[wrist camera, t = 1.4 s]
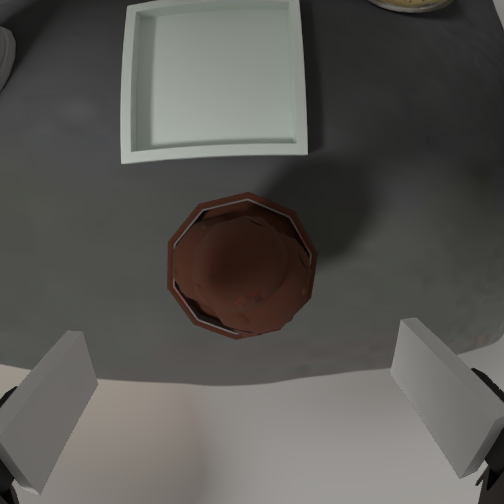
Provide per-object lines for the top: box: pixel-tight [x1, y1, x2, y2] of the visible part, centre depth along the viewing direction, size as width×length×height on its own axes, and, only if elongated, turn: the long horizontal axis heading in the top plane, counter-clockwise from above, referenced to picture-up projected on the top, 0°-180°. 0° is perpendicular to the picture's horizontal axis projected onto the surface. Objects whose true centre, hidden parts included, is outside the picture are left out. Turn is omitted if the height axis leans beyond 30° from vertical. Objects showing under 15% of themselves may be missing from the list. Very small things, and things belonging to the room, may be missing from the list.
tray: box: [121, 0, 308, 164], centre depth 26 cm, size 17×17×2 cm
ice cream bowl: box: [167, 192, 318, 340], centre depth 25 cm, size 11×11×15 cm
